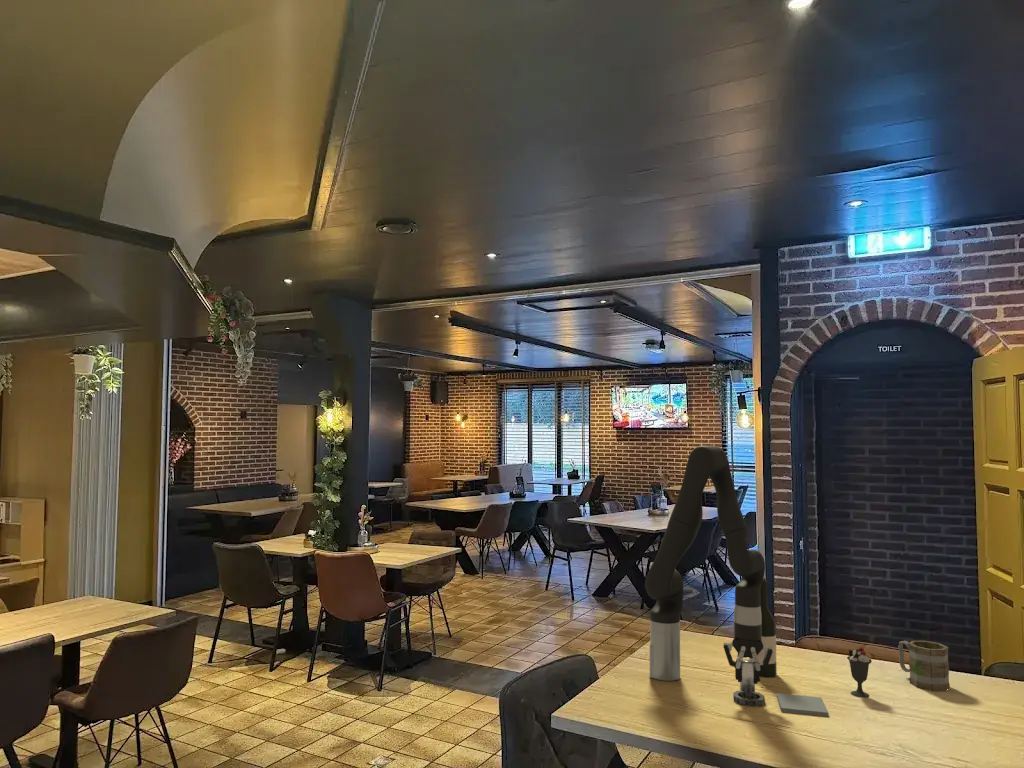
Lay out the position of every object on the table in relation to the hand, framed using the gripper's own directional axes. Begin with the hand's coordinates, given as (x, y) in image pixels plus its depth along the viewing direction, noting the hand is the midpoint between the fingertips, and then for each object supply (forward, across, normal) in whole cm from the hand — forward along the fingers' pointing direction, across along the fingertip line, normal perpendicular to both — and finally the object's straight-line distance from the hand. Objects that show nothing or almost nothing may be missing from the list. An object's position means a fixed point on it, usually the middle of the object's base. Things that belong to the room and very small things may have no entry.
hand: (747, 681), depth 205 cm
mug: (+5, +53, +32) cm, 62 cm away
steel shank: (+2, 0, 0) cm, 2 cm away
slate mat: (+5, +14, 0) cm, 15 cm away
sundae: (+5, +32, +15) cm, 36 cm away
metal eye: (+5, 0, 0) cm, 5 cm away
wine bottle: (+6, +6, +27) cm, 28 cm away
